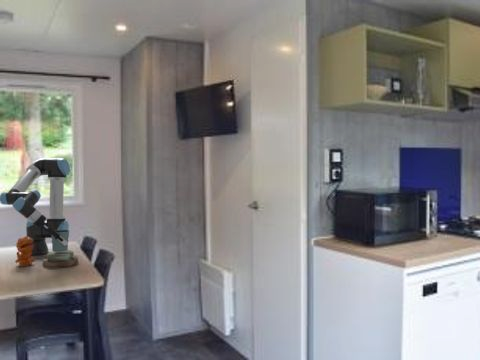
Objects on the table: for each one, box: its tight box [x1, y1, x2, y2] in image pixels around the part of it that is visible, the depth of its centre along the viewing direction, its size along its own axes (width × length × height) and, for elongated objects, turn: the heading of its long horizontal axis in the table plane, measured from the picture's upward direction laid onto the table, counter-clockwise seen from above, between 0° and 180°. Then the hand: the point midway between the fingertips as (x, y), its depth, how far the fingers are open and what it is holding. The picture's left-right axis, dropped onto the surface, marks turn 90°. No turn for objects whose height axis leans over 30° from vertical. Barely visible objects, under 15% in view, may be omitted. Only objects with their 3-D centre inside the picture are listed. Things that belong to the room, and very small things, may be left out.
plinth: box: [42, 249, 79, 269], centre depth 274 cm, size 20×20×7 cm
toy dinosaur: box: [14, 235, 35, 267], centre depth 272 cm, size 11×11×18 cm
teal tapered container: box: [51, 229, 70, 252], centre depth 274 cm, size 10×10×12 cm
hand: (65, 242), depth 275 cm, fingers closed on teal tapered container, 10 cm apart
